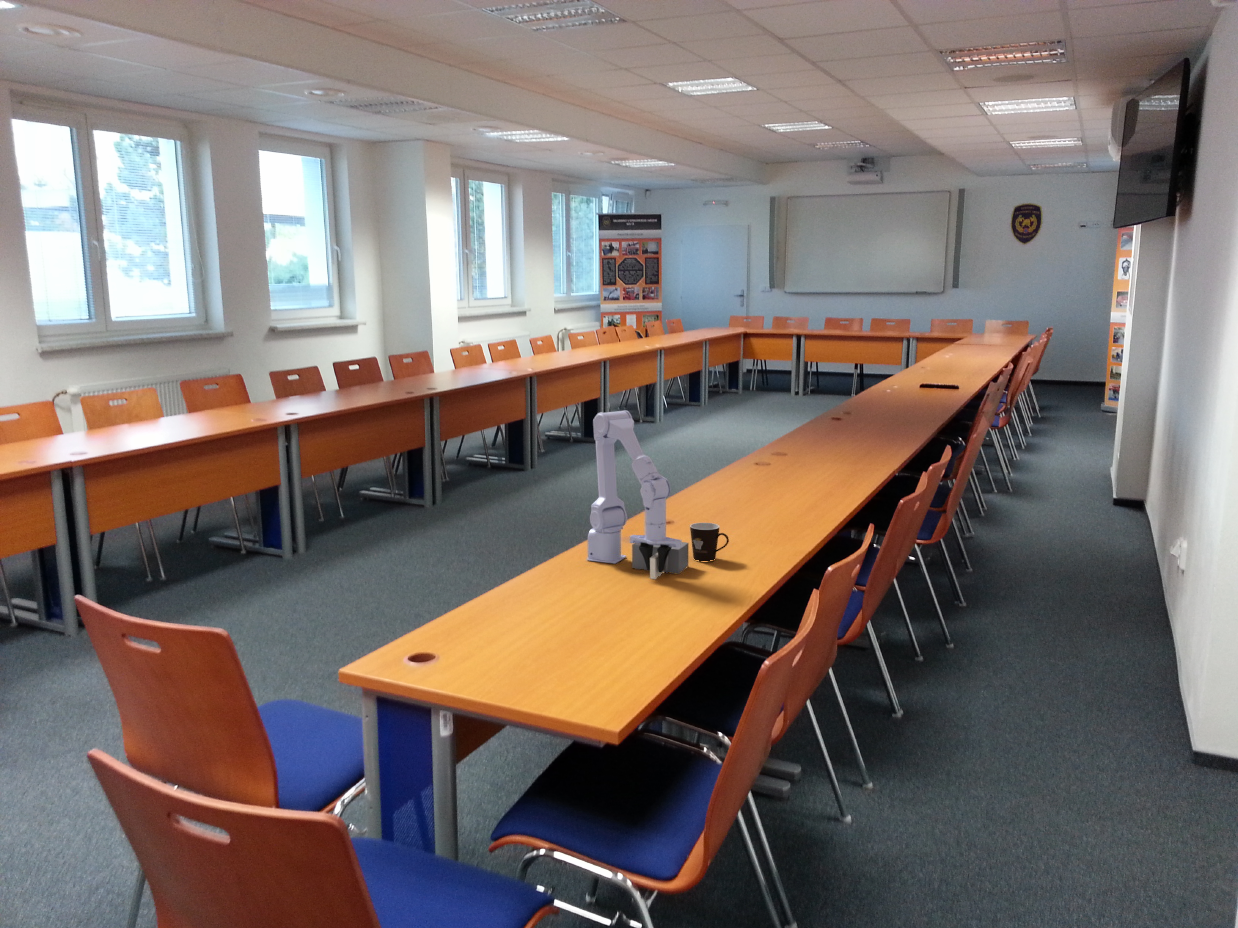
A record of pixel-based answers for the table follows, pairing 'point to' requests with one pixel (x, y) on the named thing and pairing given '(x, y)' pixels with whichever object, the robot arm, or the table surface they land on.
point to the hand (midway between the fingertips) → (655, 570)
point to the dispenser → (674, 561)
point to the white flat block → (655, 567)
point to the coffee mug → (705, 540)
